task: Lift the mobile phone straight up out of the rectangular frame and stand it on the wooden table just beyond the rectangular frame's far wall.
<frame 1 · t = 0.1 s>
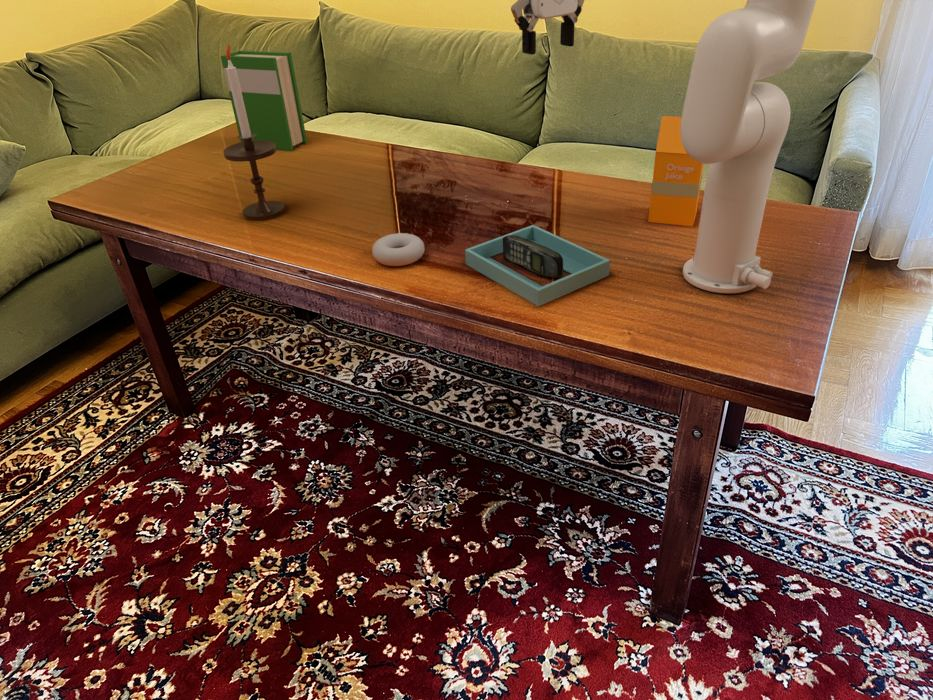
hand: (548, 49, 130), 31 cm above the table, tool pointing down, fingers open, 9 cm apart
rectangular frame: (535, 269, 122), on the table
mobile phone: (535, 270, 122), resting in rectangular frame
candlestick: (264, 213, 151), on the table
orange juice: (672, 217, 138), on the table
donut: (399, 258, 129), on the table
hardback book: (274, 144, 194), on the table
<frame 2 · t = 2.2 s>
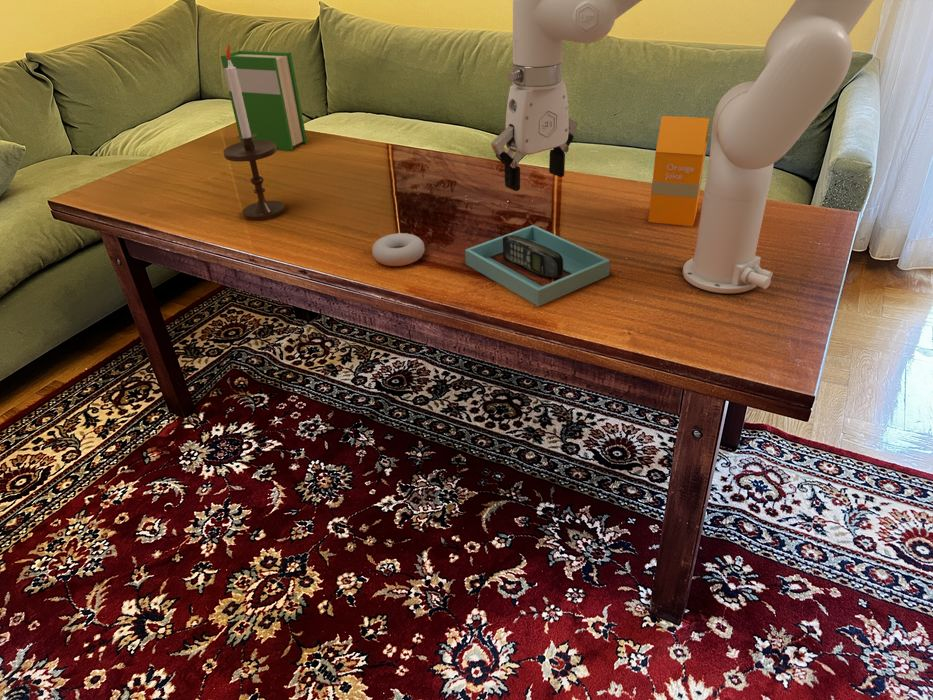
hand: (534, 181, 114), 16 cm above the table, tool pointing down, fingers open, 9 cm apart
nothing on the table moved.
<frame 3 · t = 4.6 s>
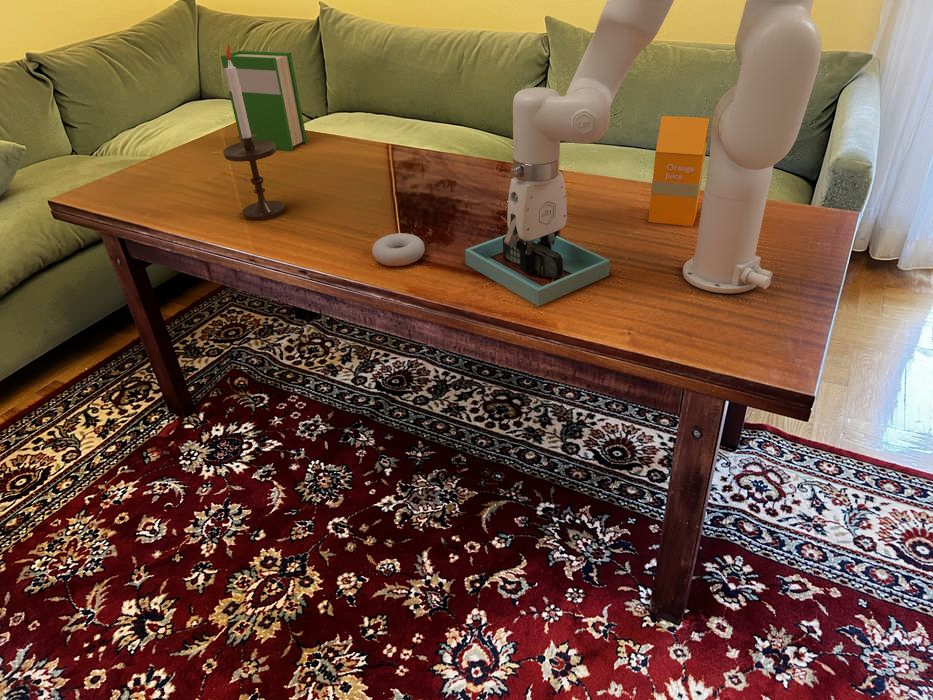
hand: (535, 267, 122), 1 cm above the table, tool pointing down, fingers closed on mobile phone, 3 cm apart
mobile phone: (535, 270, 122), resting in rectangular frame, touching gripper
everything else where it was.
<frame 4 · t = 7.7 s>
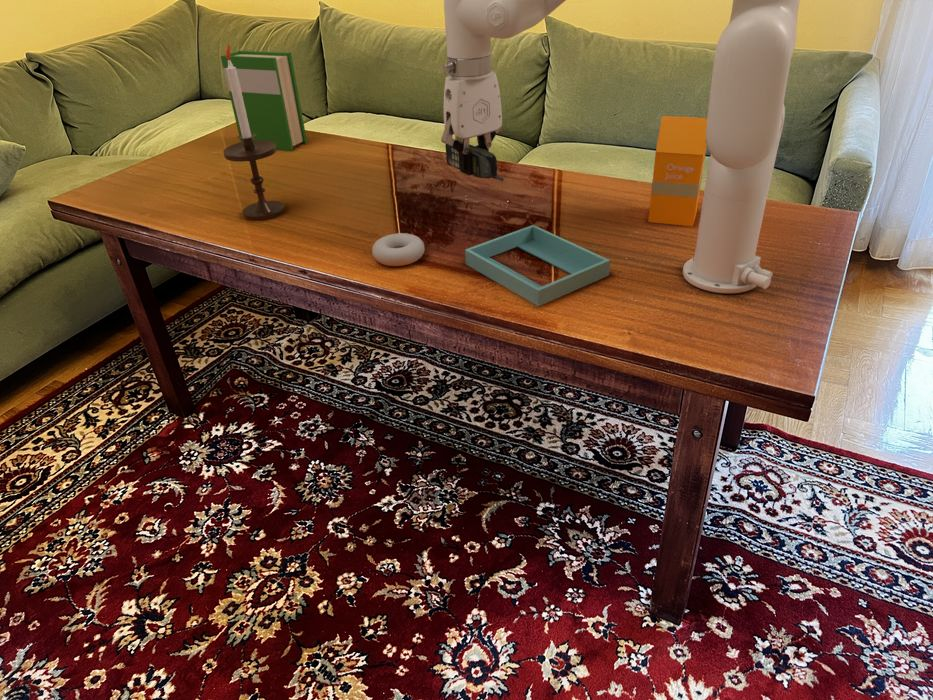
hand: (474, 170, 126), 14 cm above the table, tool pointing down, fingers closed on mobile phone, 3 cm apart
mobile phone: (474, 174, 127), point 13 cm above the table, touching gripper
everything else where it was.
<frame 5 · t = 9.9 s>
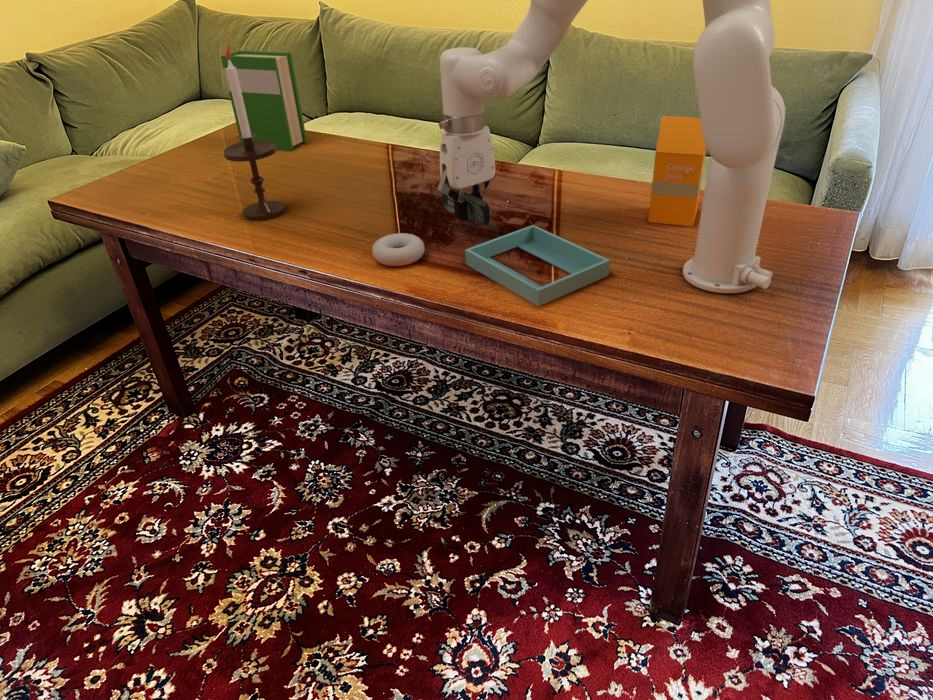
hand: (469, 215, 133), 4 cm above the table, tool pointing down, fingers closed on mobile phone, 3 cm apart
mobile phone: (468, 219, 134), point 3 cm above the table, touching gripper
everything else where it was.
when the fingers open (1 cm above the table, at t = 11.0 s): mobile phone stays where it is, on the table.
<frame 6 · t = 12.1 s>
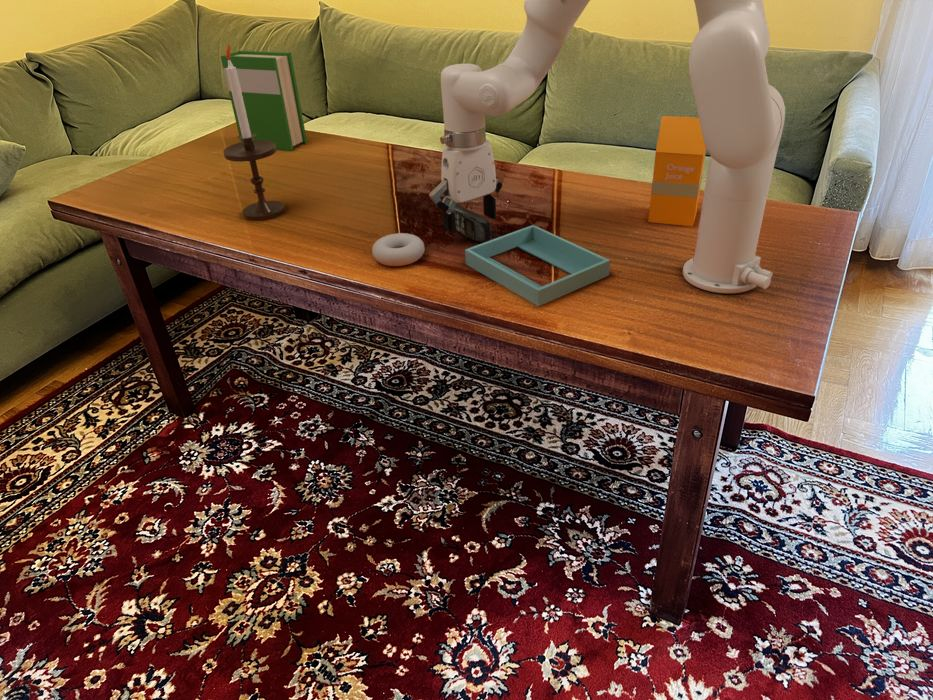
hand: (470, 223, 134), 3 cm above the table, tool pointing down, fingers open, 9 cm apart
mobile phone: (470, 236, 136), on the table
everything else where it was.
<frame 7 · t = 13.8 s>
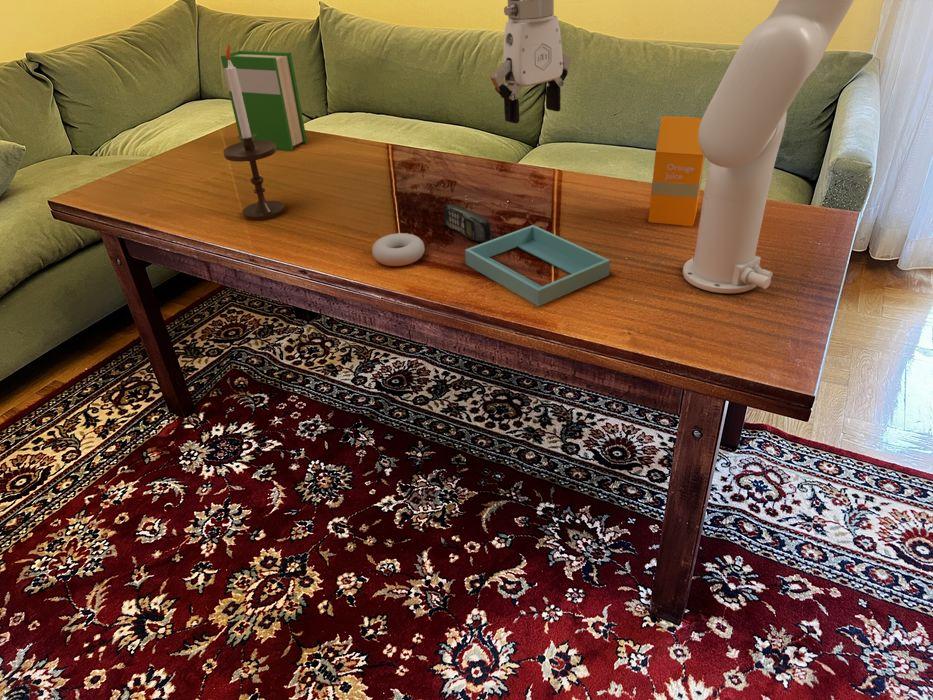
hand: (533, 115, 121), 23 cm above the table, tool pointing down, fingers open, 9 cm apart
nothing on the table moved.
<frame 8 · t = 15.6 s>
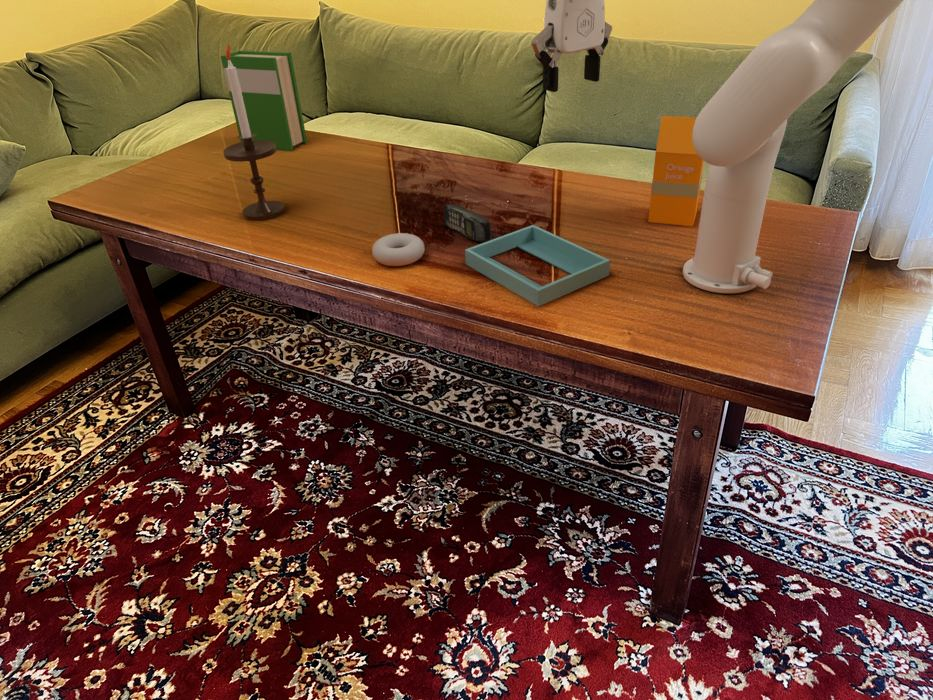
hand: (571, 85, 117), 28 cm above the table, tool pointing down, fingers open, 9 cm apart
nothing on the table moved.
at the end: mobile phone inside the target area (0.1 cm from its centre), on the table; mobile phone touching table; mobile phone tilted 0° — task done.
